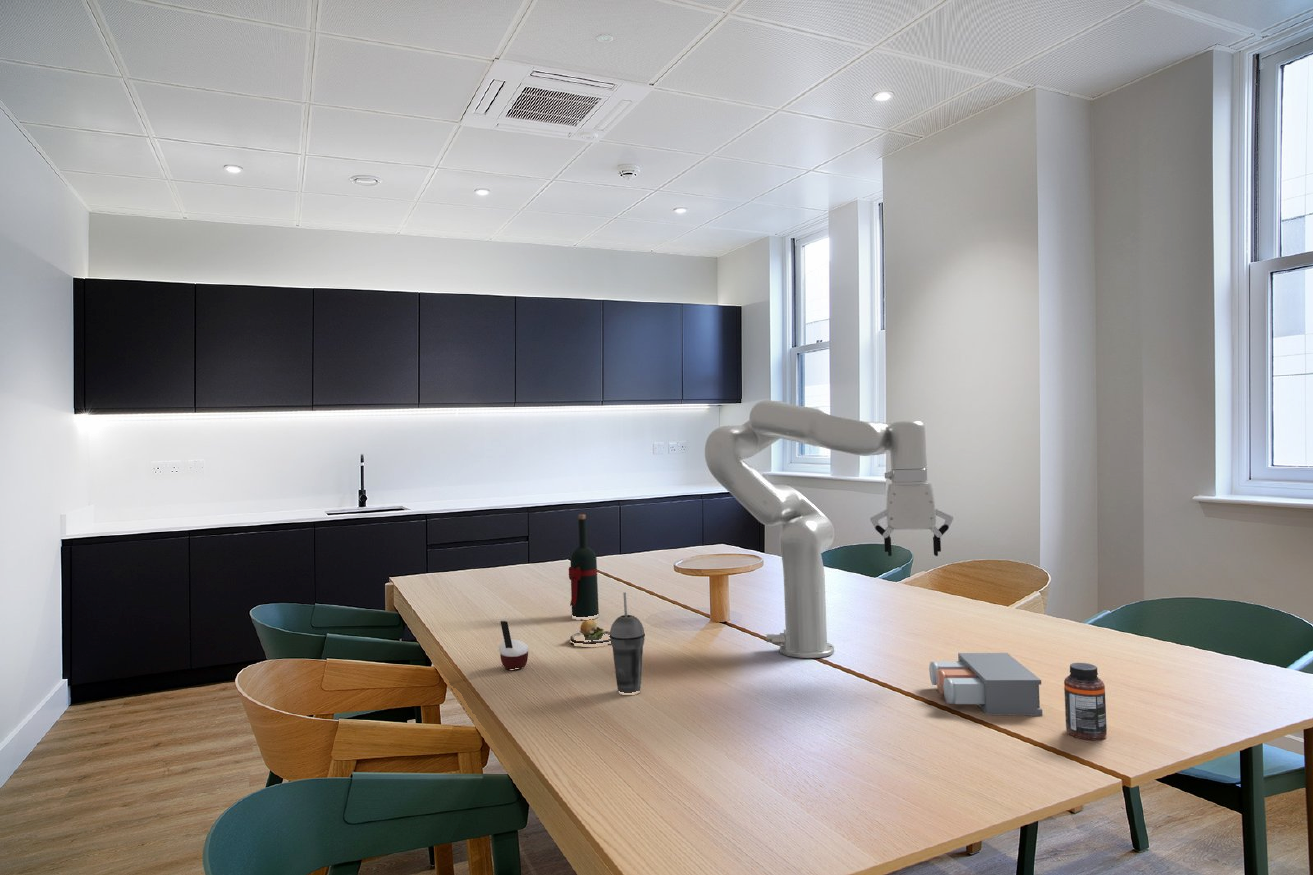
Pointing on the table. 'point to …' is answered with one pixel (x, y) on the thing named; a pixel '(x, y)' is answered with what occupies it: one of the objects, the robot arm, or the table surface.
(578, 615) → the wine bottle
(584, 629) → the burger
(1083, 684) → the supplement bottle
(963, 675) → the plug terracotta
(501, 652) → the cocoa
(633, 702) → the table surface
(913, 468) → the robot arm
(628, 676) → the beverage cup
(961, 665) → the plug far
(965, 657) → the socket block
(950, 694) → the plug near
